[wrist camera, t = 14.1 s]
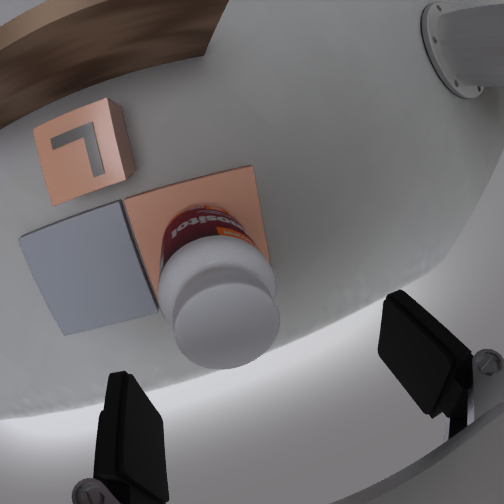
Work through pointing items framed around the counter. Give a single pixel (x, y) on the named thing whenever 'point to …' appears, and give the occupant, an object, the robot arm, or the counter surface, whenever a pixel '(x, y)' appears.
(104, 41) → the walnut wall
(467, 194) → the counter surface
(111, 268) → the slate pad
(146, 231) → the terracotta pad
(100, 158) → the terracotta cube
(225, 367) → the pill bottle
